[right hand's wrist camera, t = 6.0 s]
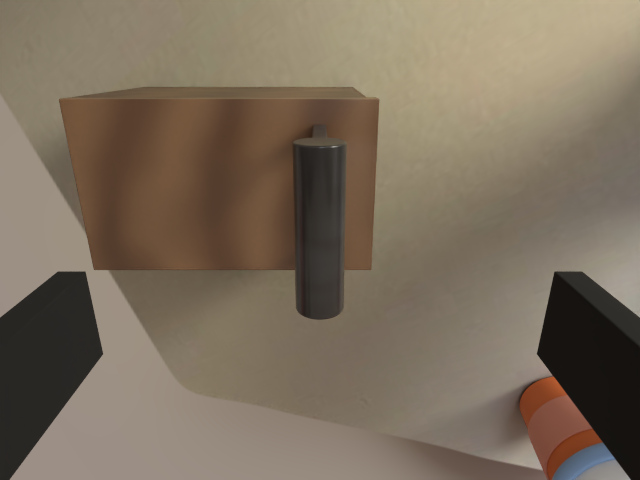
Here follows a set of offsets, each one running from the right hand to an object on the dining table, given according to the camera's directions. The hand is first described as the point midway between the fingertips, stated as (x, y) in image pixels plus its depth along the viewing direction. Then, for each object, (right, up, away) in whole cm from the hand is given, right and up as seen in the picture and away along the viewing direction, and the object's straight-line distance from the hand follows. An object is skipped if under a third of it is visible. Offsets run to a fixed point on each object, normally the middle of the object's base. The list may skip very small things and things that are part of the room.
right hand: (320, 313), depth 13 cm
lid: (-5, +5, +13) cm, 15 cm away
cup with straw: (+23, -14, +32) cm, 42 cm away
